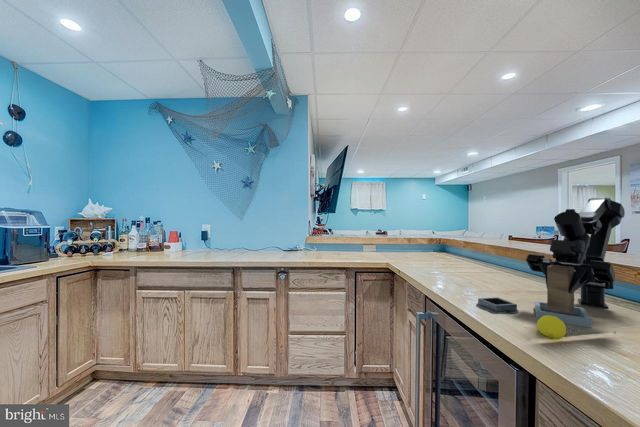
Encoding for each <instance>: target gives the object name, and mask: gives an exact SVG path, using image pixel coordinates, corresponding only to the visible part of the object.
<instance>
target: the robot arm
mask: <svg viewBox="0 0 640 427" xmlns="http://www.w3.org/2000/svg"><path fill="white" fill-rule="evenodd" d="M624 217H625V208H624V206H623V205H622V203H620V202H617V201H615V200H612V199H611V198H610V197H606V196H602V197H600V196H599V197H591V198H588V200H587V203H586V205H585V206H583V208H582V209H581V210H580V211H579V212H577V211H576V208H575V209H573V208H572V209H571V208H569V209H568V208H567V209H565V211H562V212H560V213H558V214H557V215H555V216H554V218H553V219H554V223H555V225H556V227H557V230H558V232H559V234H560V236H562V237H563V239H552V240H551V242H550V247H549V251H550V252H552V258H553V259H555V260H553V259H551V258H546V257H545V255H543V254H534V253H532V254H531V253H529V254H527V256H526V258H525V261H526V263H527V265H528V267H529V269H530V271H533V272H536V273H542V274H543V275H544V277H545V284H546V287H547V266H551V265H560V266H568V267H574V277H573V280H572V282H571V284H570V286H569V293H573V292H574V293H575V292H576V291H577V290H579V289H580V298H577V301H578V303H579V304H580V305H582V306H589V307H593V308H595V307H596V308H602V309H609V305H608V304H607V303H606V293H605V292H606V290H614V288H615V287H614V282H615V279H616V272H615V270H614V267H613V264H612V263H611V262H610V261H605V258H606V253H607V249H608V245H609V243H610V242H609V241H610V237H611V234H612V229H613V228H616V227H617V226H619V225H620V224H621V221H622V220H623V219H624ZM622 218H623V219H622Z"/></svg>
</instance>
